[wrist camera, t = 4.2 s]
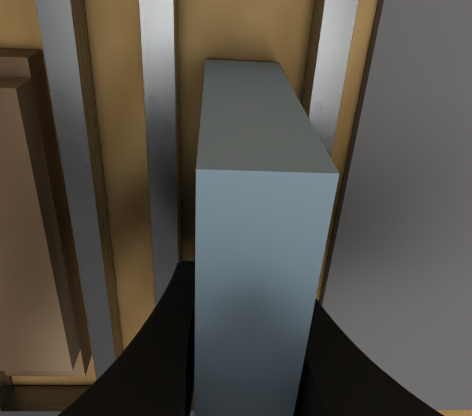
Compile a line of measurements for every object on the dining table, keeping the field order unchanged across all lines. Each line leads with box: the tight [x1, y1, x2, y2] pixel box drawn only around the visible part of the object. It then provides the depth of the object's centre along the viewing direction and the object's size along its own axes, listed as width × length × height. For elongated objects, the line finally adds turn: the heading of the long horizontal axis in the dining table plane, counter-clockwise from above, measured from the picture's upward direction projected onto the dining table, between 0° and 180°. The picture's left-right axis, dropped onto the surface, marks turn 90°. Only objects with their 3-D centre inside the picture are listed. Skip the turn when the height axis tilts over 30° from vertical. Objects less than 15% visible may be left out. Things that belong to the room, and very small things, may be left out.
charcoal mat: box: [319, 0, 472, 410], centre depth 16 cm, size 8×18×1 cm, turn 177°
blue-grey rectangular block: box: [194, 59, 339, 416], centre depth 12 cm, size 2×12×7 cm, turn 177°
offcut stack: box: [0, 48, 91, 376], centre depth 14 cm, size 3×12×2 cm, turn 177°
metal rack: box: [0, 0, 358, 416], centre depth 15 cm, size 12×17×1 cm
